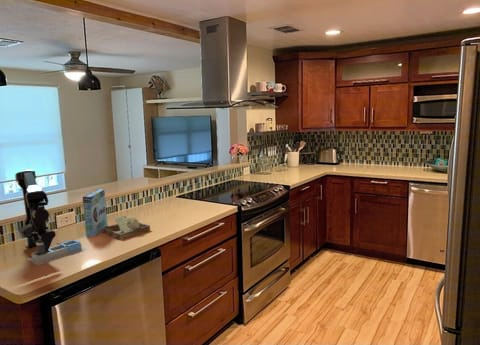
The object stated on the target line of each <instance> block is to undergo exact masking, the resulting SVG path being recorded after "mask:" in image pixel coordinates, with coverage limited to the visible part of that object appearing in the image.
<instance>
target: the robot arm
mask: <svg viewBox="0 0 480 345" xmlns="http://www.w3.org/2000/svg"><path fill="white" fill-rule="evenodd" d="M36 175H37V174H36V171H35V170H33V169H25V170H24V169H23V170H20V171H18V172H16V173H15V175H14V176H15V182H17V185H18V187H20V189H21V191H22V197H23V204H24V210H25V212H24V213H25V219H24V220H23V226H22V227H21V228H19V229H18V230H17V232H18V234H19V235H20V236H21V237H22V238H24V239H26V240H27V241H26V242H27V245H25V248H27V249H34V248H37V245H36V241H37V240H40V241H42V243H43V246H44V249H45V252H47V251H48V250H49V248H51V244H52V243H53V239H55V237H56V236H57V235H56V231H54V230H52V229H49V226H47V222H48V219H49V217H50V212H49V211H48V210H47V209H46V207H45V206H48V205H49V199H48V195H47V193H46V192H45V191H44V190H43V187H40V186H38V183H37V181H36V179H37V176H36Z"/></svg>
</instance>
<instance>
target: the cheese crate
mask: <svg viewBox="0 0 480 345" xmlns="http://www.w3.org/2000/svg"><path fill="white" fill-rule="evenodd" d="M139 225H140V226H139V228H138V229H135V230H132V231H128V232H125V233H123V232H117V231H118V230H120V228H119V226H118V224H117V223H116V224H113V225H109V226H106V227H105V228H102V230H101V232H102V234H104V235H107V236H109V237H111V238H114V239H118V240H121V241H122V240H124V239H128V238H131V237H135V236H137V235H141V234H144V233H146V232H149V231H151V227H150V226H151V225H149V224H145V223H142V222H139ZM116 230H117V231H116Z"/></svg>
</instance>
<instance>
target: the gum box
mask: <svg viewBox="0 0 480 345" xmlns="http://www.w3.org/2000/svg"><path fill="white" fill-rule="evenodd" d="M105 194H106V193H105V189H99V188H98V189H95V190H93V191H92V192H90V193H88V194H86V195H84V196H82V208H83V217H84V227H85V237H87V238H88V237H96V236H97V235H98V234H99V233H100V232H102V228H105V227H108V218H107V204H106V203H107V202H106V197H105V196H106V195H105Z"/></svg>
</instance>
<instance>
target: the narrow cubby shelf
mask: <svg viewBox="0 0 480 345" xmlns="http://www.w3.org/2000/svg"><path fill="white" fill-rule="evenodd" d="M59 244H60V245H58V244H56V245H55V246H50V247H49V250H48V253H45V254H42V255H38V250H37V251H34V252H31V257H28V258H27V260H28V261H30V262H31V263H33V264H35V265H37V266H39V265H42V264H46V263H49V262H52V261H54V260H58V259H61V258H65V257H68V256H70V255H74V254H77V253H80V252H83V251H86V250H88V249H87V248H85V247H83V246H82V243H81V241H79V240H77V239H71V240H68V241H65V242H62V243H59Z"/></svg>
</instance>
